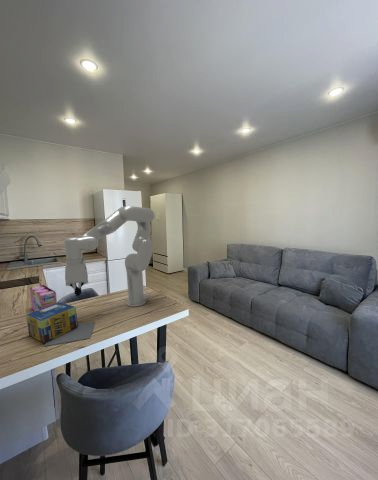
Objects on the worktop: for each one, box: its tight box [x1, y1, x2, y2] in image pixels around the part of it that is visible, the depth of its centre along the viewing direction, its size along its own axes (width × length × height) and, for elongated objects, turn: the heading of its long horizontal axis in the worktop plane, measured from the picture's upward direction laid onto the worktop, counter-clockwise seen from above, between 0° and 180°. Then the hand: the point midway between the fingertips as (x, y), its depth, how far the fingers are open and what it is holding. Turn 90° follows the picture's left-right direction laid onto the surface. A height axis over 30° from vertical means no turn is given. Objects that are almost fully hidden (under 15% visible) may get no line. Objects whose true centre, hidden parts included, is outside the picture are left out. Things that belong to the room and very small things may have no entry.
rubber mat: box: [43, 321, 96, 348], centre depth 100 cm, size 18×16×1 cm
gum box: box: [29, 284, 58, 312], centre depth 125 cm, size 24×8×14 cm, turn 49°
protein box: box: [25, 301, 79, 344], centre depth 101 cm, size 10×15×16 cm
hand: (78, 295), depth 112 cm, fingers closed
